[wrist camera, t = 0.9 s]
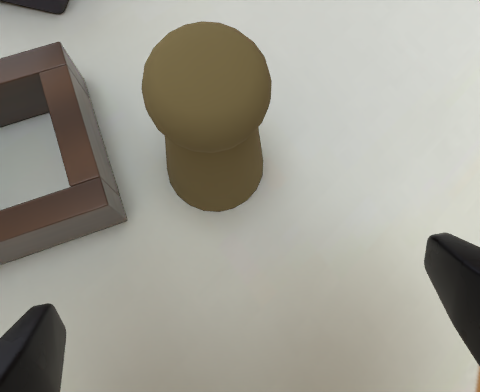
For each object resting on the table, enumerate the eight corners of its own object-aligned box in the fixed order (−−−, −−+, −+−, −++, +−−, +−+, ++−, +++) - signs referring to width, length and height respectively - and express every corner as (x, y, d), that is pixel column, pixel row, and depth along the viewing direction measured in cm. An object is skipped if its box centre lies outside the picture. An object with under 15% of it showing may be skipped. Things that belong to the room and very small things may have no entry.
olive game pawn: (209, 231, 24) (193, 174, 14) (147, 160, 25) (87, 55, 15) (283, 169, 25) (321, 72, 15) (220, 103, 26) (214, -32, 16)
